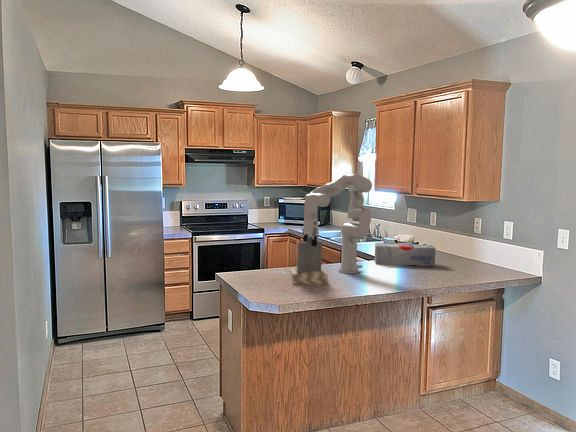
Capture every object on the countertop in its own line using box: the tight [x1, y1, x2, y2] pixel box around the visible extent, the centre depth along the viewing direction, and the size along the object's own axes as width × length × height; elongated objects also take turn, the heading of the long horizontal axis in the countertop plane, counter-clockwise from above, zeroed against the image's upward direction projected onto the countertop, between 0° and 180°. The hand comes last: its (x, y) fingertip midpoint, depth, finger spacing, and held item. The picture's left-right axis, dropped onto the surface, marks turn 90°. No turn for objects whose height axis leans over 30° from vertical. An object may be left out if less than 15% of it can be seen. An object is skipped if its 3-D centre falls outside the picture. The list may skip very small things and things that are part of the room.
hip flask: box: [296, 236, 323, 273], centre depth 277 cm, size 16×4×20 cm, turn 118°
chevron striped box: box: [290, 268, 329, 285], centre depth 278 cm, size 20×14×6 cm
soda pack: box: [374, 242, 437, 267], centre depth 333 cm, size 41×13×14 cm, turn 84°
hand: (309, 244), depth 276 cm, fingers open, 9 cm apart
